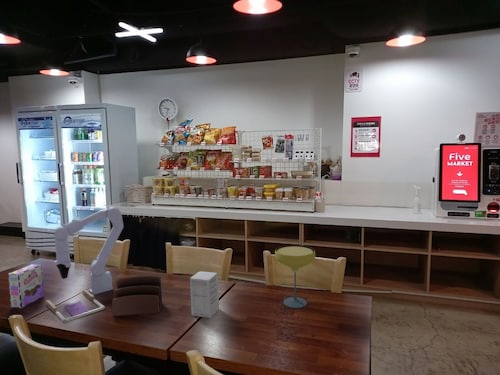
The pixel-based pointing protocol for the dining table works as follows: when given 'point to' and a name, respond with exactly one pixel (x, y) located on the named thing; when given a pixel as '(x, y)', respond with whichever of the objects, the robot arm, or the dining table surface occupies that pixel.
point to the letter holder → (137, 296)
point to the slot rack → (56, 307)
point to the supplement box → (204, 294)
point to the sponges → (76, 308)
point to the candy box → (25, 285)
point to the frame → (82, 313)
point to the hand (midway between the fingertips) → (64, 278)
